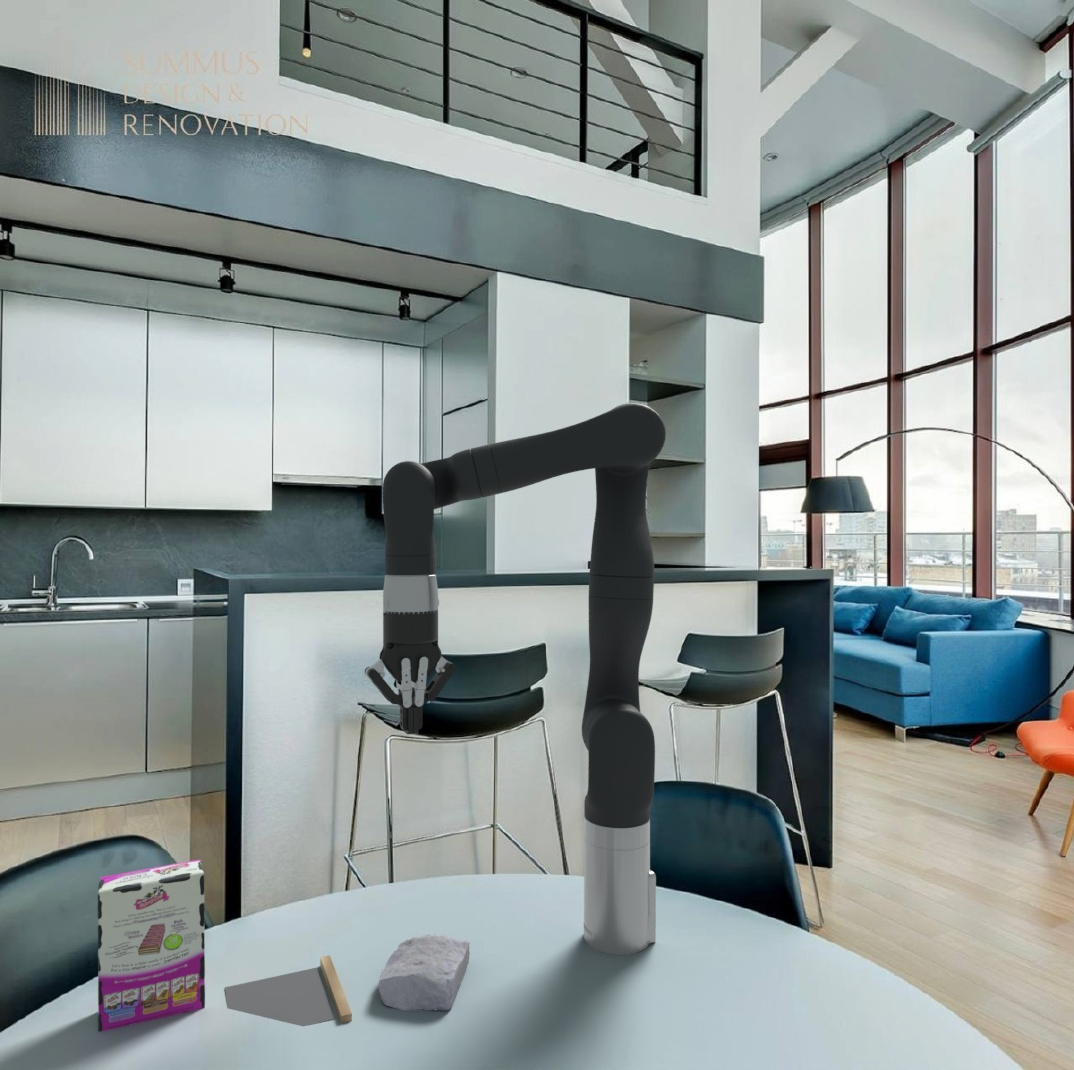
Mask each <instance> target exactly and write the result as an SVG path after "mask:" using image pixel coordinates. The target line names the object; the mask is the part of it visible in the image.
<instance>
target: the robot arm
mask: <svg viewBox="0 0 1074 1070" xmlns="http://www.w3.org/2000/svg"><path fill="white" fill-rule="evenodd" d="M666 433H667V432H666V427H665V424H664V420H663V418H662V417H661V416H660V414H658V412H657V411H655V410H654V409H653V408H651V407H650V406H648V405H645V404H642V403H638V402H637V403H636V402H627V403H623V404H620V405H616V407H614V408H611V410H608V411H606V412H604V413H602V414H599V415H596V416H594V417H592V418H589V419H586V420H584V421H581V422H578V423H576V424H573V425H568V426H566V427H562V428H558V429H556V430H555V429H554V430H552V431H548V432H547V431H546V432H542V433H539V434H534V435H530V436H524V437H519V438H513V439H508V440H504V441H498V442H495V443H494V442H493V443H489V444H485V445H480V446H476V447H472V448H468V449H464V450H461V451H458V452H456V453H454V454H452V455H451V456H449V457H446V458H441V459H436V460H431V461H426V462H423V463H419V462H416V461H412V460H411V461H410V460H405V461H401V462H398V463H396V464H394V465H392V467H391V468H389V470H388V471H387V472H386V474H385V475H384V478H383V482H382V508H383V509H382V510H383V511H382V512H383V521H384V529H385V530H384V531H385V547H384V574H385V575H384V583H383V592H382V614H383V615H382V638H383V639H382V649H381V651H380V653H379V659H378V660H377V661H376V662H374V664H373V665H371V666H367V667H366V668H365V669H364V674H365V675H366V677H367V678H368V679H369V680H370V682H371V683H372V684H373V685H374V687H376V688H377V690H378V691H379V692H380V694H381V695H382V696H383V697H384V698H385V699H386V700H387V702H388V703H390V704H391V705H397V706H399V726H400V729H401V730H403V731H404V733H405V734H406V735H407V736H408V735H416V734H417V735H418V734H419V730H422V728H423V723H424V722H423V719H424V718H423V713H424V712H423V710H424V708H423V707H424V705H425V704H427V703H428V702H431V701H435V700H436V698H437V697H438V695H440V693H441V691H442V690H443V689H444V687H445V686H446V684H447V682H448V681H449V680H450V678H451V677H452V676H453V674H454V672H456V669H457V666H456V664H455V663H453V662H450V661H448V660H447V658H446V659H445V657H443V656H442V650H441V649H440V646H439V605H440V600H439V588H438V581H437V547H436V540H435V536H434V524H435V523H434V522H435V521H434V520H435V516H434V515H435V510H437V509H441V508H444V507H446V506H450V505H453V504H456V503H459V502H462V501H463V502H464V501H470V500H477V499H482V498H486V497H491V496H495V495H500V494H503V493H508V492H512V491H515V490H519V489H522V488H526V487H529V486H531V485H532V486H533V485H535V484H537V483H541V482H544V481H547V480H550V479H554V478H556V477H560V476H562V475H567V474H570V473H576V472H580V471H585V470H587V471H588V470H591V469H594V477H595V495H596V497H595V498H596V499H595V500H596V502H595V503H596V505H595V516H594V522H593V531H592V540H591V548H590V549H591V550H590V552H591V553H590V561H589V563H590V564H589V574H588V575H589V576H588V577H589V579H588V643H589V644H588V645H589V670H588V671H589V672H588V681H587V689H586V696H585V701H584V709H583V715H582V723H581V736H582V740H583V743H584V746H585V748H586V749H587V751H588V769H587V770H588V771H587V772H588V775H587V779H588V782H587V785H588V786H587V792H586V795H585V797H584V801H583V802H584V803H583V804H584V805H583V806H584V815H583V817H584V819H583V821H584V827H583V828H584V829H583V831H584V832H583V837H584V838H583V839H584V840H583V843H584V844H583V846H584V849H583V850H584V852H583V855H584V857H583V858H584V859H583V861H584V863H583V869H584V870H583V871H584V872H583V874H584V875H583V878H584V879H583V881H584V882H583V939H584V942H585V944H586V945H587V946H588V947H590V948H591V949H593V950H594V951H597V952H600V953H603V954H607V955H614V956H628V955H629V956H630V955H634V954H638V953H640V952H643V951H644V950H645V949H647V947H648V946H649V945H650V944H651V943H655V942H656V939H657V936H656V935H657V930H656V928H657V926H656V925H657V923H656V922H657V904H656V902H657V896H656V895H657V889H656V888H657V876H656V873H655V872H654V871H653V870H652V869H651V807H652V803H653V800H654V795H655V774H656V773H655V772H656V771H655V768H656V742H655V733H654V729H653V727H652V725H651V723H650V721H649V720H648V718H646V716H645V715H643V713H642V712H641V706H640V705H641V704H640V686H639V685H640V684H639V683H640V682H639V681H640V680H639V679H640V677H639V676H640V675H639V673H640V661H641V656H642V653H643V648H644V646H645V642H646V639H647V635H648V633H649V629H650V624H651V619H652V615H653V609H654V608H653V606H654V589H655V587H654V586H655V559H654V551H653V544H652V540H651V539H652V538H651V533H650V528H649V524H648V523H649V522H648V518H647V516H648V515H647V503H646V501H647V487H648V477H649V469H650V464H651V463H652V462H653V461H654V460H655V459H657V457H658V456H659V455H660V453H661V451H662V450H663V447H664V446H665V442H666V436H667V435H666ZM384 668H385V669H386V670H387V672H388V673H389V675H391V677H392V678H393V679H394V680H395V682H396V683H395V685H396V690H397V693H395V691H394V690H393V689H392V688H391V686H390V685H389V684H388V683H387V682H386V680H385V677H386V671H385V669H384ZM434 669H435V671H436V673H435V674H434V675H433V677H432V679H430V681H429V682H428V684H427V679H428V678H429V676H430V675H431V674H432V672H433V671H434Z"/></svg>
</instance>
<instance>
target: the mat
mask: <svg viewBox="0 0 1074 1070" xmlns="http://www.w3.org/2000/svg"><path fill="white" fill-rule="evenodd" d="M224 992H225V1001H226V1009H229V1010H233V1011H237V1012H241V1013H246V1014H249V1015H252V1016H253V1015H254V1016H258V1017H261V1018H267V1019H271V1020H274V1021H278V1022H283V1023H286V1024H291V1025H296V1026H298V1027H299V1026H300V1027H307V1026H311V1025H316V1024H317V1025H318V1024H321V1023H325V1022H329V1021H334V1020H335V1017H334V1014H333V1012H332V1008H331V1006H330V1002H329V999H328V996H327V993H326V990H325V987H324V985H323V982H322V979H321V976H320V972H319V969H318V967H313V968H309V969H305V970H299V971H293V972H290V973H284V974H281V975H276V976H271V977H266V978H263V979H262V978H261V979H258V980H253V981H252V980H251V981H248V982H244V983H239V984H234V985H231V986H230V985H229V986H226V987H224Z"/></svg>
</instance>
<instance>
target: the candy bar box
mask: <svg viewBox="0 0 1074 1070" xmlns="http://www.w3.org/2000/svg"><path fill="white" fill-rule="evenodd" d="M205 936H206V935H205V873H204V868H203V866H202V860H201V859H195V860H189V861H183V862H177V863H171V864H165V865H160V866H156V867H149V868H144V869H137V870H134V871H133V870H132V871H128V872H121V873H117V874H110V875H106V876H105V875H103V876H100V877H99V883H98V889H97V964H98V965H97V969H98V970H97V973H98V974H97V979H98V980H97V985H98V986H97V993H98V994H97V1003H98V1006H97V1007H98V1008H97V1012H98V1015H97V1031H98V1032H104V1031H108V1030H113V1029H114V1030H115V1029H118V1028H122V1027H121V1026H123V1027H126V1025H127V1026H131V1025H130V1024H132V1025H136V1024H140V1023H144V1022H150V1021H153V1020H157V1019H162V1018H167V1017H171V1016H176V1015H179V1014H185V1013H188V1012H195V1011H198V1010H202V1009H205V1008H206V1007H205V1006H206V968H205V967H206V966H205V965H206V963H205V961H206V960H205V959H206V956H205V955H206V953H205V952H206V951H205V948H206V947H205V945H206V944H205Z"/></svg>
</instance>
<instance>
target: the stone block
mask: <svg viewBox="0 0 1074 1070" xmlns="http://www.w3.org/2000/svg"><path fill="white" fill-rule="evenodd" d="M470 954H471V953H470V940H469V939H466V940H462V939H459V938H455V937H448V936H446V935H437V934H433V935H432V934H426V935H422V936H417V937H415V936H414V937H412V938H409V939H406V940H404V941H402V942H400V943H399V944H398V946H397V949H396V950H394V951H393V952H392V954H391V955H390V956H389V958H388V959H387V961H386V963H385V966H384V967H383V968H382V969H381V974H380V979H379V981H378V992H379V995H380V999H381V1001H382V1002H383V1004H384V1005H385V1006H387V1007H390V1008H393V1009H397V1010H400V1011H403V1010H404V1011H405V1012H406V1011H418V1010H417V1009H424V1010H423V1011H427V1010H433V1011H440V1010H443V1011H442V1012H448V1011H449V1010H451V1009H452V1006H453V1005H454V1003H455V999H456V996H457V994H458V991H459V989H460V986H461V983H462V981H463V978H464V975H465V974H466V973H465V972H466V971H467V968H468V964H469V961H470ZM450 1008H451V1009H450ZM435 1009H437V1010H435ZM444 1010H446V1011H444ZM447 1010H448V1011H447Z"/></svg>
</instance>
